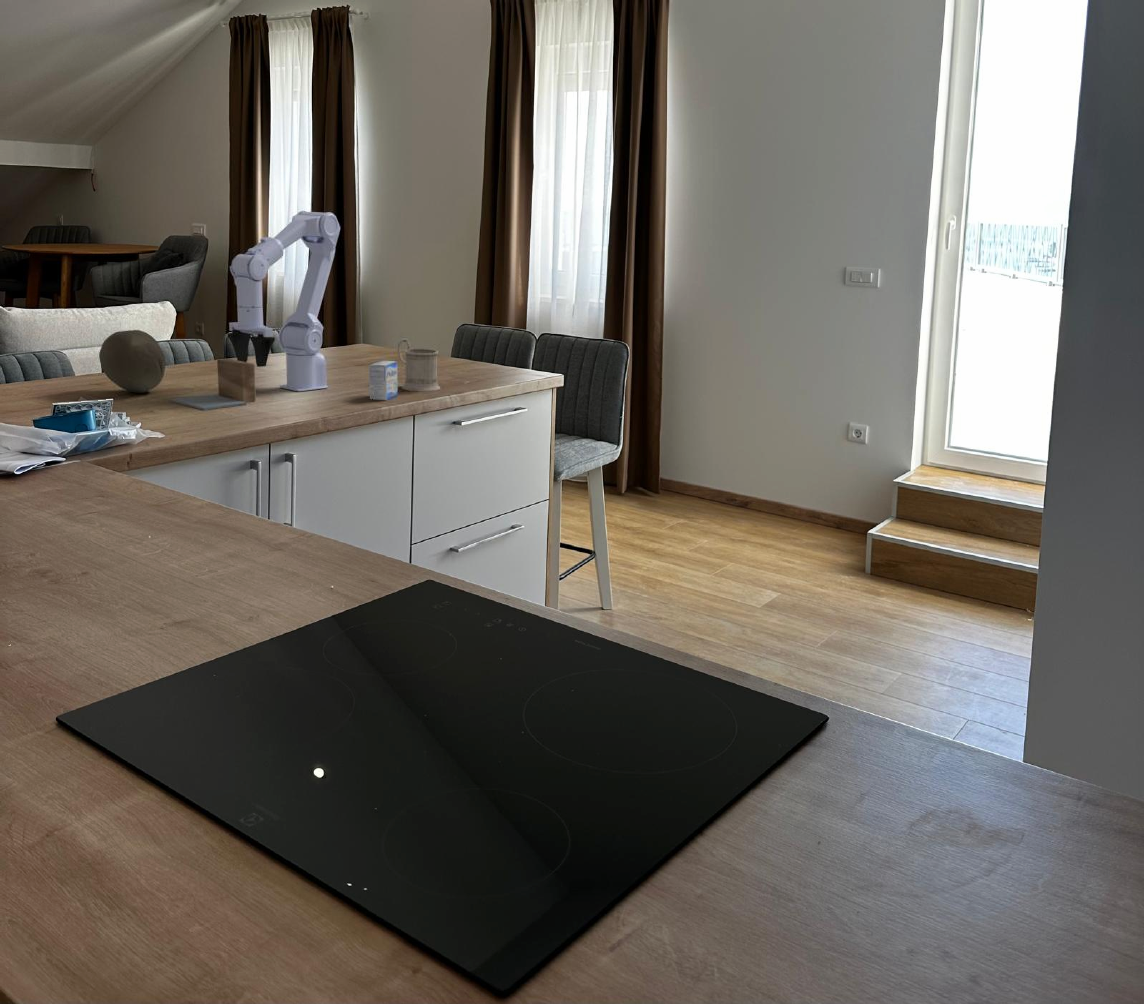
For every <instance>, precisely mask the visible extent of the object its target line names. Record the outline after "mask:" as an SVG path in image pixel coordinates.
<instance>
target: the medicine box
mask: <svg viewBox="0 0 1144 1004" xmlns="http://www.w3.org/2000/svg"><path fill="white" fill-rule="evenodd" d="M368 375H369V377H368V378H369V399H370V400H372V399H373V400H372V401H384V402H386V401H389V400H391V399H393V398H395V397H397V396H398V362H397V361H396V360H395V361H394V360H393V361H392V360H380V361H377V362H375V363H372V364H369V373H368ZM388 399H389V400H388Z"/></svg>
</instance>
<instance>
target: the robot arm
mask: <svg viewBox="0 0 1144 1004" xmlns="http://www.w3.org/2000/svg"><path fill="white" fill-rule="evenodd" d="M340 231H341V225H340V223H339V221H338V219H337V216H336V215H335V214H334V213H333V212H331V211H330V212H319V211H318V212H317V211H316V212H315V211H306V210H301V211H299V212H297V214H295V215H292V218H291V221H290V222H289V223H288V224H287V225H286V226H285V227H284V228H283V229H282V230H280V232H278V233H277V234H276V235H275V236H274V237H271V236H266V237H263V236H262V237H261V238H259V241H260V242H258V243H257V244H256V245H254V246H253V247H252V248H251V247H250V248H249V249H247V252H245V253H243V254H242V253H239V254H237V255H236V256H235V257H234V258H233V259H232V261H231V265H230V266H229V270H230V273H231V275H232V276H233V280H234V285H235V286H236V302H237V303H236V304H237V321H235V322H229V323H228V325H229V331H231V332H227V334H226V335H227V338H228V339H229V341H230V343H231V345H232V346H233V349H234V352H235V357H236V360H238V361H242V362H247V363H248V359H249V358H248V357H249V345H250V341H251V343H252V345H253V350H254V355H255V356H254V357H255V364H256V367H259V368H261V367H266V366H267V363H268V359H269V354H270V351H271V349H272V346H273V344H274V342H275V341H276V337H275V336H274V333H273V328H272V327H268V326H265V325H264V312H263V309H264V308H263V281H262V280H263V279H265V278H266V276H267V274H268V270H269V269H270V268H271V267H272V266H274V264H275V263H277V262H278V261H279V260H281V258H283V256H284V250H285V249H287V248H289V247H290V246H291V245H292V244H295V243H296V242H297V241H298V240H300V239H301V241H302V242H303V244H304V245H305V246H306V248H307V249H309V250H310V253H311V254H310V257H309V258H310V259H309V261H308V266H307V268H306V269H307V270H306V272H305V276H304V280H303V283H302V288H301V291H300V294H299V298H298V301H297V305H296V309H295V312H293V313H292V314H291V315H289V316H288V317H287V318H285V321H284V324H283V325H282V327H281V329H280V330H279V332H278V343H279V346H280V347H281V348H282V349H283V353H285V357H286V358H285V359H286V361H285V363H286V384H283V385H282V384H281V385H279V388H281V389H286V390H291V391H295V392H305V391H306V392H307V391H311V390H312V391H313V390H319V389H328V388H329V385H327V363H326V359H325V356H324V355H323V354H322V353H321V352H319V350H320V349H321V347H322V345H323V330H324V326H323V324H322V323H321V321H320V320H319V319H318V315H319V312H320V309H321V305H322V301H323V298H324V294H325V290H326V287H327V284H328V280H329V276H330V273H331V269H332V265H333V261H334V258H335V253H336V246H337V242H338V238H339V236H340ZM252 335H255V336H252Z"/></svg>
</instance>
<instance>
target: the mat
mask: <svg viewBox="0 0 1144 1004" xmlns="http://www.w3.org/2000/svg"><path fill="white" fill-rule="evenodd" d="M169 401H170V402H172V403H176V404H180V405H184V406H186V407H191V408H195V409H199V410H202V411H208V410H209V411H210V410H216V409H223V408H231V407H232V408H233V407H239V406H240V407H241V406H245V405H247V403H246V402H242V401H238V400H234V399H230V398H226V397H222V396H219V394H218V395H217V394H214V393H209V394H208V393H207V394H202V395H201V394H199V395H192V396H183V397H175V398H170V399H169Z"/></svg>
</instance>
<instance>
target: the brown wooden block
mask: <svg viewBox="0 0 1144 1004" xmlns="http://www.w3.org/2000/svg"><path fill="white" fill-rule="evenodd" d="M216 362H217V363H216V364H217V385H218V386H217V387H218V396H222V397H226V398H230V399H234V400H238V401H242V402H246V404H248V403H249V404H250V403H255V402H256V400H257V398H256V372H255V371H256V369H255V364H254V363H251V362H248V361H247V362H242V361H238V360H237V359H233V358H224V359H223V358H222V359H216Z"/></svg>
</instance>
